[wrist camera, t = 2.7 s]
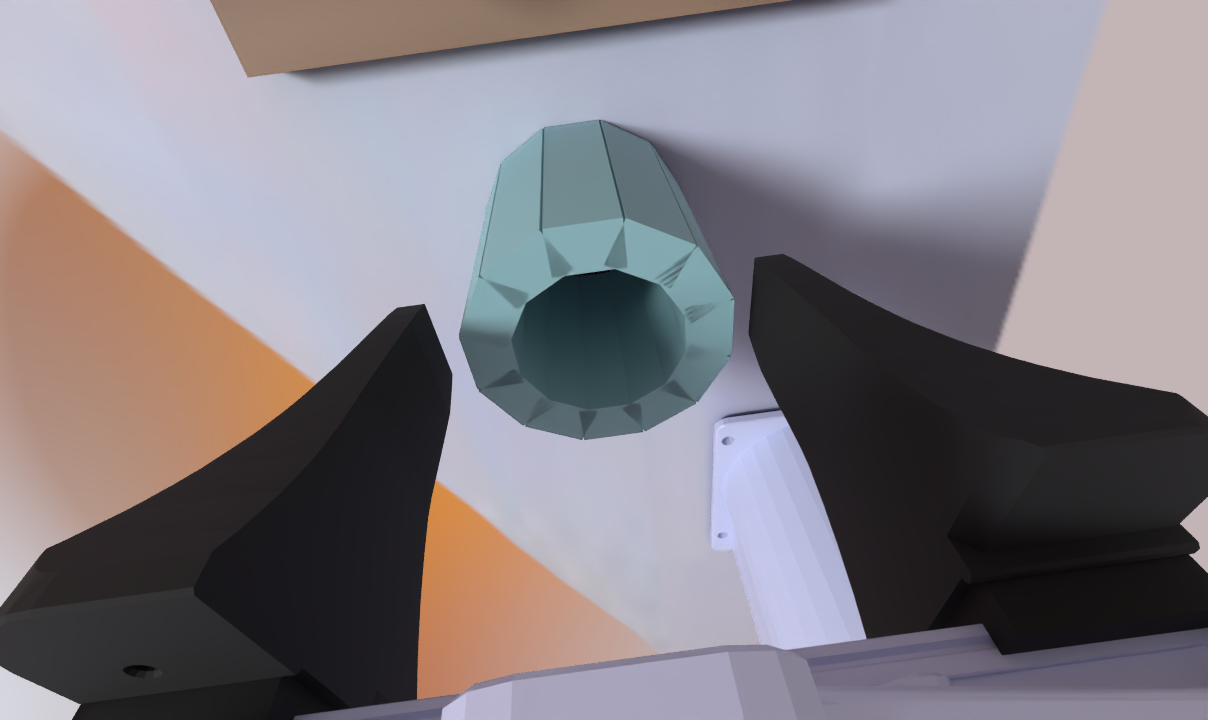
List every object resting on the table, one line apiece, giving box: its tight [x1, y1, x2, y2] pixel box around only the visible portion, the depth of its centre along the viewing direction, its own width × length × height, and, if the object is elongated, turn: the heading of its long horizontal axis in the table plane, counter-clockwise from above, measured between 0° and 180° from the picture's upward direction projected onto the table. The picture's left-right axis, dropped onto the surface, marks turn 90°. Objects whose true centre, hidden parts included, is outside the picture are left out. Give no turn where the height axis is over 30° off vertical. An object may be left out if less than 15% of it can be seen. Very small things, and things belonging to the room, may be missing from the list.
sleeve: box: [459, 120, 735, 440], centre depth 13 cm, size 6×6×6 cm
